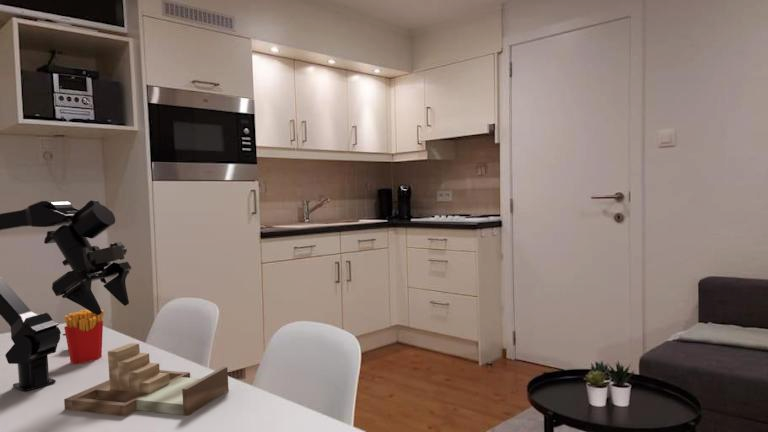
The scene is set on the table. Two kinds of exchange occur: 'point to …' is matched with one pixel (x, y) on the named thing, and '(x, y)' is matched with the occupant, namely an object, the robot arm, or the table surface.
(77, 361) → the french fries
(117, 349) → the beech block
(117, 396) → the brown wooden flat frame
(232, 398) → the table surface
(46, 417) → the table surface
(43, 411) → the table surface
